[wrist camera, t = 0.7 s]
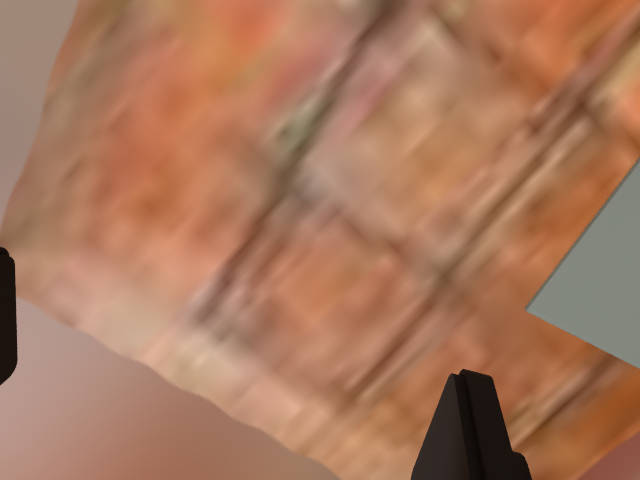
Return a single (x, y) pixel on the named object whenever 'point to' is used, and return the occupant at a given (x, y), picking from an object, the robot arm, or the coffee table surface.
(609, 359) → the coffee table surface
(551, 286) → the rubber mat
